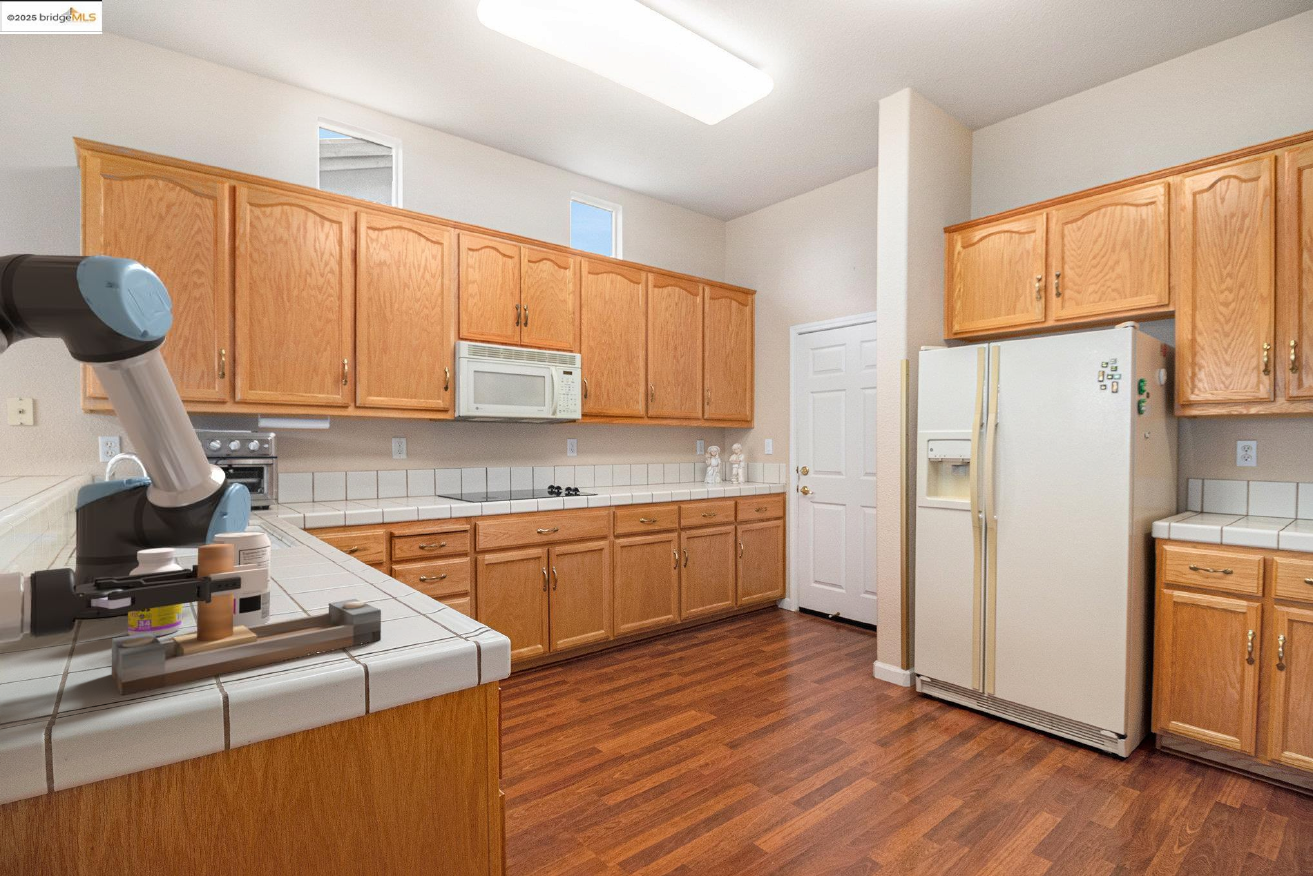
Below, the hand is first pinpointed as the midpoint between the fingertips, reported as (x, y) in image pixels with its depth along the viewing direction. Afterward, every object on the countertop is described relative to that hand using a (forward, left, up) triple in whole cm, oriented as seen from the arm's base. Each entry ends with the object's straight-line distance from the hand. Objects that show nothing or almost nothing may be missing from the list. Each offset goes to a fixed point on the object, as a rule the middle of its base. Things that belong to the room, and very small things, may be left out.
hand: (261, 575), depth 90 cm
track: (0, 0, -11) cm, 11 cm away
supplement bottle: (-24, -8, -11) cm, 28 cm away
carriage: (0, -5, -9) cm, 11 cm away
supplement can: (-18, +2, -11) cm, 21 cm away
